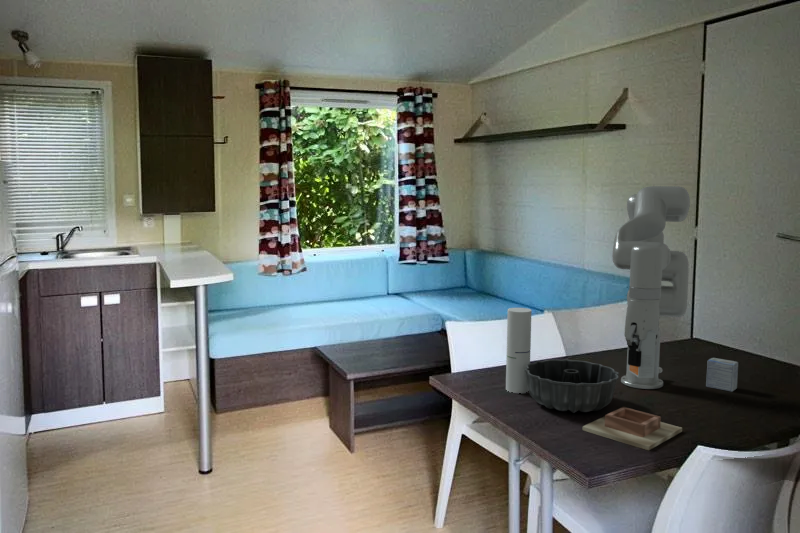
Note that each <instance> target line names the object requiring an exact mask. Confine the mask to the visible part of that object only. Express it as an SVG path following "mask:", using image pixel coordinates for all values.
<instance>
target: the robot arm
mask: <svg viewBox="0 0 800 533" xmlns="http://www.w3.org/2000/svg"><path fill="white" fill-rule="evenodd" d="M690 207H691V197H690V193H689V192H688V190H687V188H684V187H682V186H676V185H675V186H673V185H650V186H645V187H643V188H641V189H639V190H638V191H637V192H636V194H635V193H634V194H631V195H630V196H629V197H628V198H627V200H626V210H627V216H628V219H629V220H628V221H627V222H625V223H624V224H622V225H621V226H620V227H619V228H618V229H617V232H616V233H615V236H614V238H613V239H614V241H613V246H612V262H613V265H614V267H616V268H618V269H619V270H626V271H627V270H629V288H628V291H627V295H626V304H627V308H626V315H625V323H624V324H625V325H624V331H623V332H624V333H623V334H624V337H625V338H624V339H625V341H626V345H627V350H626V351H627V354H626V355H627V356H626V374H625V375H623V376H621V378H620V382H621V384H623V385H625V386H628V387H630V388H634V389H643V390H644V389H645V390H655V389H660V388H662V387H663V386H664V381H663V380H662V379H661V378H659V374H661V373H662V372H663V368H662V367H660V354H661V352H660V349H661V329H660V317H669V318H681V317H683V316H684V315H685V314H686V312H687V309H688V298H689V297H688V296H689V295H688V294H689V293H688V292H689V272H690V268H689V266H690V265H689V259H688V256H687V255H686V254H685V252H683V251H679V250H670V248H669V246H668V245H667V244H665V242H664V239H665V235H664V230H665V228H666V225H667V224H666V223H667V222H668V223H669V222H670V223H671V222H674V223H679V222H684V221H685V220H686V219H687V217H688V216H689V210H690ZM662 282H669V283H671V284H672V285H662ZM651 330H654V331H656V346H655V365H654V378H638V377H637V376H635V375H634V374H632V373H631V372H629V365H632V366H636V367H640V366H641V353H642V351H640V348H641V344H642V341H643V340H645V339H646V337H647V333H648V332H649V331H651ZM634 336H637V337H639V338H634ZM634 341H638V343H637V344H636V342H634Z"/></svg>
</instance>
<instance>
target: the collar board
mask: <svg viewBox="0 0 800 533" xmlns="http://www.w3.org/2000/svg"><path fill="white" fill-rule="evenodd" d="M661 419H662V417H661V416H660V415H656V414H652V413H650V412H649V413H648V412H645V411H641V410H636V409H633V408H629V407H626V406H622V407H620V408H618V409H615V410H613V411H611V412H609V413H607V414H605V415H604V416H603V417H600V418H598V419H596V420H594V421H592V422H589V423H587V424H585V425H583V426H582V431H584V432H588V433H590V434H593V435H597V436H600V437H603V438H607V439H611V440H614V441H615V442H619V443H623V444H626V445H629V446H632V447H635V448H638V449H643V450H646V451H650V450H653V449H654V448H656V447H657V446H659V445H661V444H662V443H665V442H666V441H668V440H670V439H671V438H674V437H676V436H677V435H678V434H680V433H682V432H683V427H681V426H676V425H673V424H670V423H666V422H664V421H663V422H662V421H661Z"/></svg>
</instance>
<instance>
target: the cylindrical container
mask: <svg viewBox="0 0 800 533" xmlns="http://www.w3.org/2000/svg"><path fill="white" fill-rule="evenodd" d="M532 312H533V310H532V309H530V308H526V307H509V308H508V309H507V319H506V320H507V321H506V322H507V323H506V324H507V326H506V360H505V361H506V367H505V368H506V369H505V390H507V391H506V392H508V391H509V393H511V392H513V393H512V394H519V393H521V394H527V393H529V392H528V385H527V377H526V372H525V371H524V369H525V368H526V366H527V365H528V364H531V346H532V343H531V342H532ZM526 392H527V393H526Z"/></svg>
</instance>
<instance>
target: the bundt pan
mask: <svg viewBox="0 0 800 533" xmlns="http://www.w3.org/2000/svg"><path fill="white" fill-rule="evenodd" d="M524 371H525V372H526V377H527V385H528V391H529V392H528V393H529V395H530V396H531V398H532V399H533V400H534V401H536V403H538V404H539V405H542V406H545V408H547V409H548V410H553V409H555V410H556V411H560V412H567V411H570V412H571V413H572V414H574V413H577V412H578V411H579V412H580V413H588V412H592V411H593V412H599V411H601V410H602V409H603V408H605V407H607V406H608V405H609V404H611V402H612V401H613V398H614V394H615V390H616V386H617V385H616V384H617V381H618V380H619V376H620V373H619V372H618V371H616V370H615V369H614V368H612V367H610V366H606V365H603V364H602V363H601V364H600V363H593V362H590V361H586V360H578V359H577V360H574V359H573V360H572V359H567V358H566V359H547V360H542V361H541V360H538V361H537V360H536V361H535V362H532V363H531V362H530V364H528V365H527V366H526V368H525V369H524Z"/></svg>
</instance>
